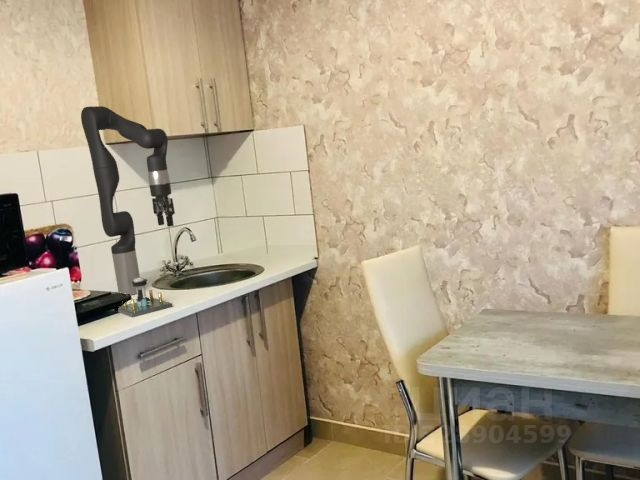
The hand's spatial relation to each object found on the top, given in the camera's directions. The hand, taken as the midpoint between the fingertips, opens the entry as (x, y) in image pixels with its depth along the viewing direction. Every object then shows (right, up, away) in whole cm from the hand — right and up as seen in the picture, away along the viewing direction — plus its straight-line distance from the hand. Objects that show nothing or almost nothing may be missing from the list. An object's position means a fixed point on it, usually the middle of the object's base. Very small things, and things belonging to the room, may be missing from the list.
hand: (165, 225), depth 245 cm
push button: (-5, -29, -13) cm, 32 cm away
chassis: (-5, -30, -12) cm, 33 cm away
